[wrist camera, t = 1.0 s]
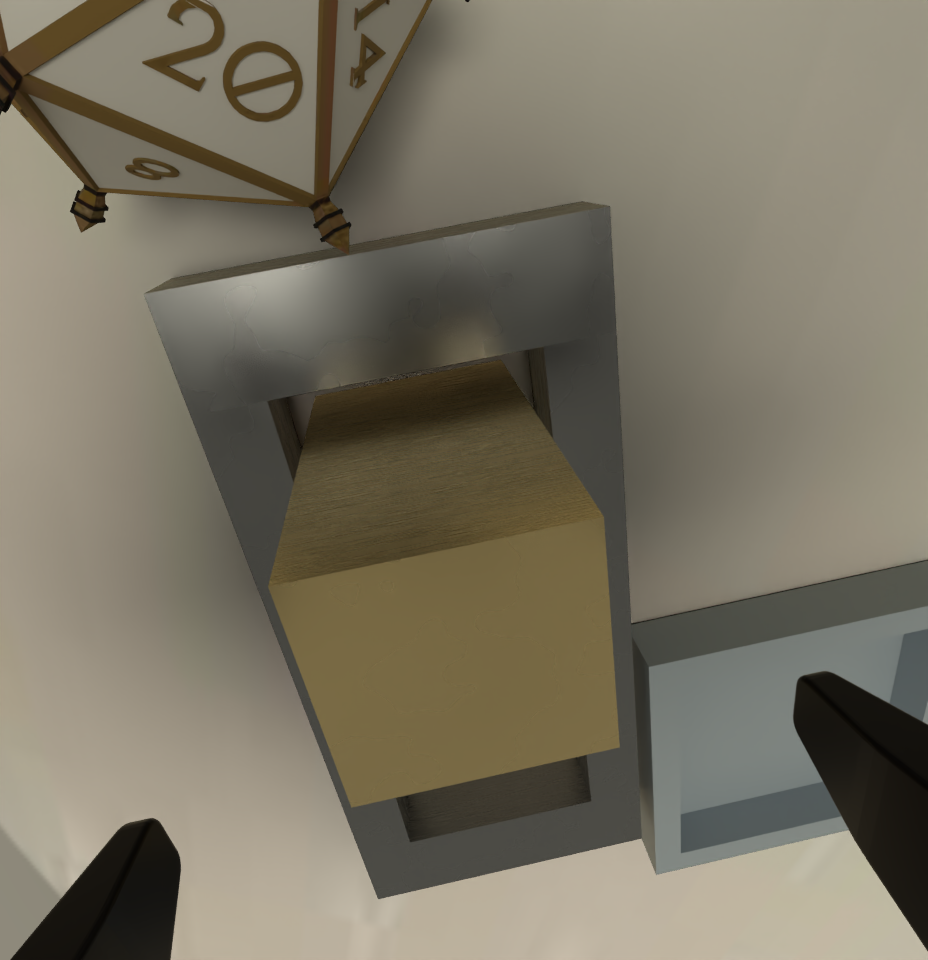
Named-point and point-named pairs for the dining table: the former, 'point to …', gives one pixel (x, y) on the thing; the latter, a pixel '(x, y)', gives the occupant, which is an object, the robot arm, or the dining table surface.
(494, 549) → the tan rectangular block
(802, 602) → the tray
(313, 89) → the game die
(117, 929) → the robot arm
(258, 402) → the grey flat frame
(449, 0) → the dining table surface
